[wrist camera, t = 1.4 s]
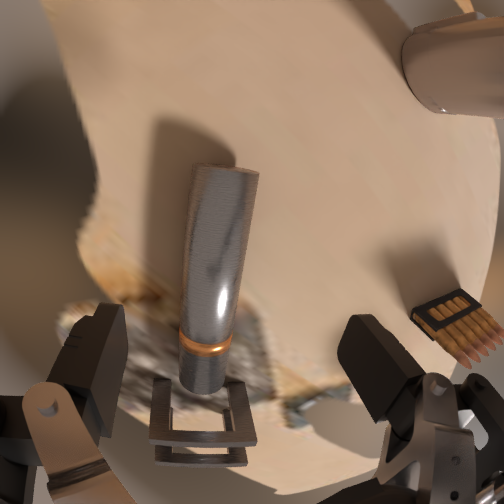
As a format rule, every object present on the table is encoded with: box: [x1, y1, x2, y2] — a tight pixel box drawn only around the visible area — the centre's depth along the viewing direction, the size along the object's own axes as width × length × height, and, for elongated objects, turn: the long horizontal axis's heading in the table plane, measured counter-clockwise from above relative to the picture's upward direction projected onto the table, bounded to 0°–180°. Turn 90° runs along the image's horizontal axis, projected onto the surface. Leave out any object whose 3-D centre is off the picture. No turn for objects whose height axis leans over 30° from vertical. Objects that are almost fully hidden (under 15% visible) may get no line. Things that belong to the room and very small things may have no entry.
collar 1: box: [149, 378, 257, 448], centre depth 25 cm, size 1×11×8 cm, turn 80°
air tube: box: [179, 163, 260, 395], centre depth 22 cm, size 20×5×5 cm, turn 169°
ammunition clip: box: [410, 288, 504, 369], centre depth 26 cm, size 11×2×12 cm, turn 97°
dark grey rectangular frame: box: [155, 408, 248, 468], centre depth 27 cm, size 1×11×8 cm, turn 79°
